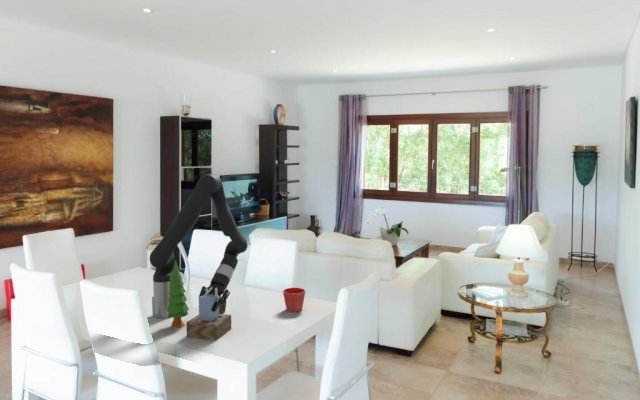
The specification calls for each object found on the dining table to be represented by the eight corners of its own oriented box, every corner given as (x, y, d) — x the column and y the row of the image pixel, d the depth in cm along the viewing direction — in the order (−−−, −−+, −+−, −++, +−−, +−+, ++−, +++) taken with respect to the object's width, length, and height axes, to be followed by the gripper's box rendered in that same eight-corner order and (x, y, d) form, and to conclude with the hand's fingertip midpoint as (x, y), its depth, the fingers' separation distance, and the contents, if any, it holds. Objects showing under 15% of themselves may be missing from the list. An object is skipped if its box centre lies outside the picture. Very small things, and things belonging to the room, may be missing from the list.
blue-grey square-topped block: (199, 319, 224) (198, 296, 223) (208, 315, 229) (207, 293, 228) (210, 321, 221) (210, 298, 220) (219, 317, 227) (218, 295, 226)
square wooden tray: (186, 338, 221) (186, 322, 220) (202, 327, 234) (202, 312, 234) (217, 340, 217) (216, 324, 217) (231, 329, 231) (231, 314, 230)
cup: (211, 320, 242) (210, 303, 242) (210, 316, 249) (209, 299, 249) (227, 319, 244) (227, 302, 244) (226, 314, 251) (225, 298, 251)
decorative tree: (181, 321, 242) (179, 257, 239) (193, 325, 236) (192, 259, 233) (163, 326, 234) (160, 260, 232) (175, 331, 228) (173, 263, 226)
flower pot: (302, 313, 253) (302, 293, 252) (280, 312, 255) (280, 292, 254) (307, 307, 263) (307, 288, 262) (286, 305, 265) (286, 287, 265)
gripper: (205, 270, 233) (188, 303, 224) (232, 273, 227) (216, 307, 218) (213, 279, 239) (197, 312, 229) (239, 282, 232) (224, 316, 223)
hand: (206, 309), depth 223 cm, fingers open, 6 cm apart
